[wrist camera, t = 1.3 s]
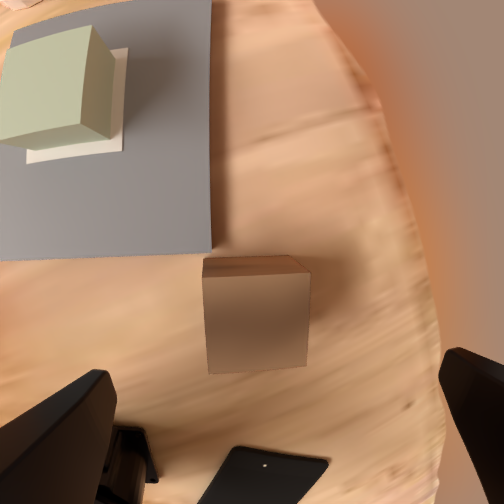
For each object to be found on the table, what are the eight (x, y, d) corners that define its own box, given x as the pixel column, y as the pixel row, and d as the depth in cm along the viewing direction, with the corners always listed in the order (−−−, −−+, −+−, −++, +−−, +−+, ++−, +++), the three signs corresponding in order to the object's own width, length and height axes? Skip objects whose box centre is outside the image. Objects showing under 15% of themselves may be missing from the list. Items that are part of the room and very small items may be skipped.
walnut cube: (286, 331, 20) (306, 366, 16) (207, 336, 20) (208, 374, 15) (288, 254, 19) (310, 272, 15) (203, 258, 19) (202, 277, 14)
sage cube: (110, 139, 16) (80, 123, 11) (35, 150, 15) (-7, 141, 11) (115, 59, 15) (91, 24, 10) (42, 74, 14) (7, 49, 10)
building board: (211, 249, 19) (211, 253, 17) (8, 258, 17) (-1, 261, 16) (211, 2, 16) (211, -7, 15) (20, 36, 14) (13, 30, 13)
